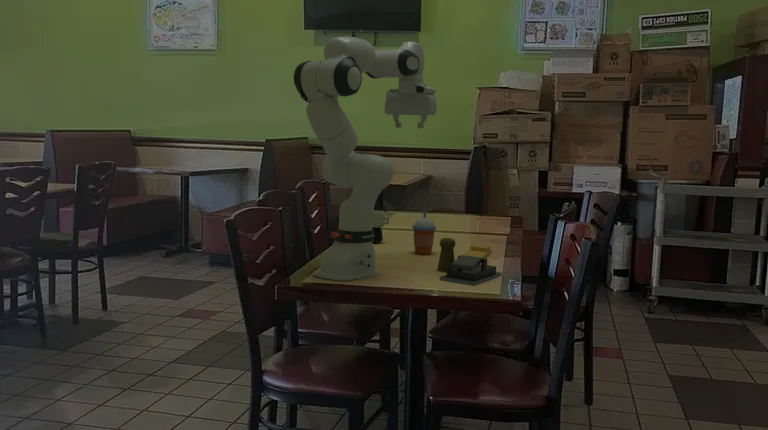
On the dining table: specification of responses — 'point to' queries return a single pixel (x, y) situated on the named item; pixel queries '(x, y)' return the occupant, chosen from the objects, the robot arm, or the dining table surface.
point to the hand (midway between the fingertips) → (409, 127)
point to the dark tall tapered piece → (446, 254)
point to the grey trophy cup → (378, 224)
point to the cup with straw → (423, 235)
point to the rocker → (472, 257)
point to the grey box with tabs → (472, 274)
